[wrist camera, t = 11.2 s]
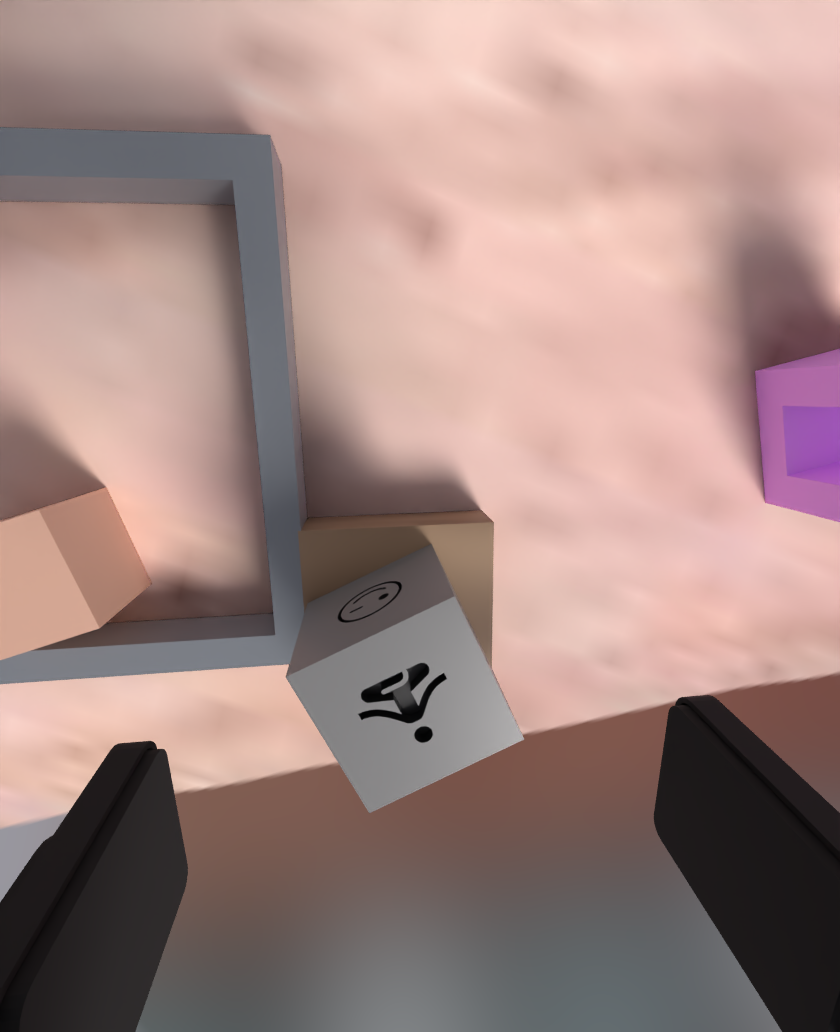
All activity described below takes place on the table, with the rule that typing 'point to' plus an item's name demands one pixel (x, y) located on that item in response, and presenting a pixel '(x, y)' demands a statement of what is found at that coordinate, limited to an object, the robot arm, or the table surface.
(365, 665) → the dice cube
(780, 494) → the bracket
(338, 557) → the tan block
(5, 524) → the terracotta block
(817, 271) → the table surface
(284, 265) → the gray rectangular frame
